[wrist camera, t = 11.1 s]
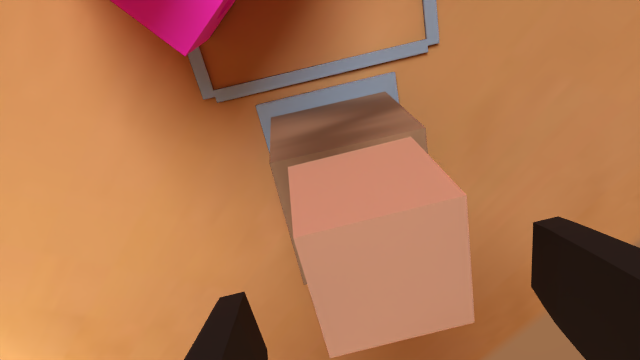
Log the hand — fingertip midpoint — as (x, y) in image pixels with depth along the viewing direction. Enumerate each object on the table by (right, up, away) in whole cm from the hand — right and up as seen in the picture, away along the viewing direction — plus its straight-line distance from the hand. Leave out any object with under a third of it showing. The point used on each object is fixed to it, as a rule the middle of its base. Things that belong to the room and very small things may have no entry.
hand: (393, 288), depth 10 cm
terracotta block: (0, +2, +4) cm, 4 cm away
